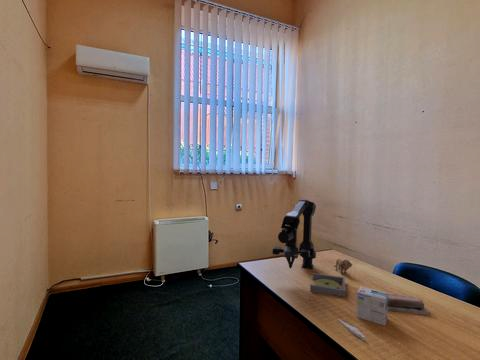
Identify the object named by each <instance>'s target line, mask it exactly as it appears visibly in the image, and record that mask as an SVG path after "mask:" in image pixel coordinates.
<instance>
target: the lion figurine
mask: <svg viewBox="0 0 480 360" xmlns="http://www.w3.org/2000/svg"><path fill="white" fill-rule="evenodd" d="M352 266H353V263H352V262H350V260H349V259H344V260H342V259H341V258H337V259H336V261H335V265H334V266H333V267H335V271H338V269H340V275H341V276H343V275H347V274H348V273H347V271H348V270H349V269H350V268H352ZM343 270H344V271H343Z"/></svg>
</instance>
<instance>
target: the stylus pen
mask: <svg viewBox="0 0 480 360" xmlns="http://www.w3.org/2000/svg"><path fill="white" fill-rule="evenodd" d="M335 320H336V321H338V322H339V323H340V324H341V325H342V326H343V327H344V328H346V329H347V330H348V331H349V332H350V333H351V335H354V336H356V337H358V338H360V339H361V340H362V341H365V339H366V338H367V337H366V336H365V335H364V334H363V333H362V332H361V331H360V330H359V329H358V328H357V327H355V326H352V325H350V323H349V324H348V323H347V322H345V321H344V320H342V319H339V318H337V317H336V319H335Z"/></svg>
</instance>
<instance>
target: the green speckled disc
mask: <svg viewBox="0 0 480 360" xmlns="http://www.w3.org/2000/svg"><path fill="white" fill-rule="evenodd" d="M339 284H340V283H337V282H335V281H333V280H329V279H319V280H315V285H317V286H324V287H330V288H337V289H338V287H339Z"/></svg>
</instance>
